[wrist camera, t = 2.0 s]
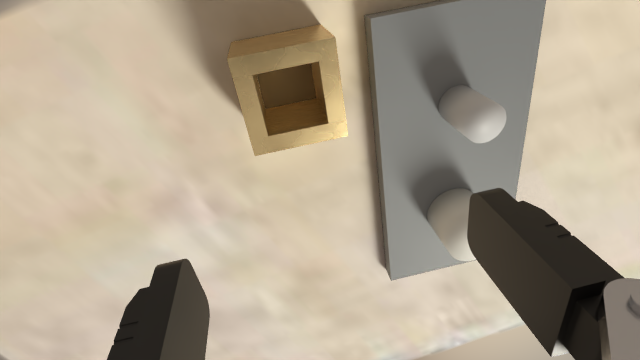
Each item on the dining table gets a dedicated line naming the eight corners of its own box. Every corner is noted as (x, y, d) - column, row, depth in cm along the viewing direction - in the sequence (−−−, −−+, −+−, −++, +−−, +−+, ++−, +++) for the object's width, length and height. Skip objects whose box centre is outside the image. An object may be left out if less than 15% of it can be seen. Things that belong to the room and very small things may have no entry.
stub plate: (386, 269, 37) (405, 313, 32) (364, 15, 24) (391, 27, 20) (498, 242, 38) (533, 282, 33) (533, -18, 25) (598, -14, 20)
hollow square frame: (254, 125, 27) (254, 155, 23) (231, 42, 24) (226, 58, 20) (333, 109, 27) (348, 135, 23) (320, 24, 24) (335, 37, 20)
